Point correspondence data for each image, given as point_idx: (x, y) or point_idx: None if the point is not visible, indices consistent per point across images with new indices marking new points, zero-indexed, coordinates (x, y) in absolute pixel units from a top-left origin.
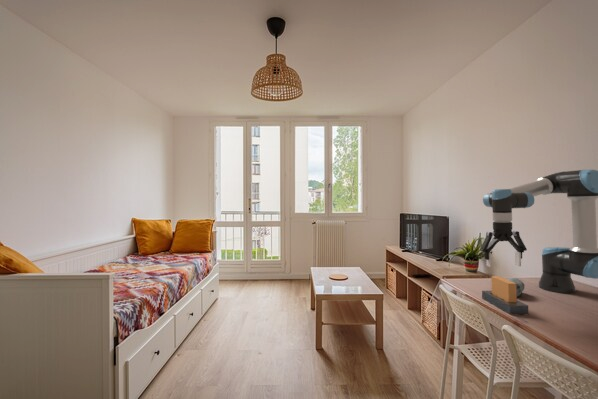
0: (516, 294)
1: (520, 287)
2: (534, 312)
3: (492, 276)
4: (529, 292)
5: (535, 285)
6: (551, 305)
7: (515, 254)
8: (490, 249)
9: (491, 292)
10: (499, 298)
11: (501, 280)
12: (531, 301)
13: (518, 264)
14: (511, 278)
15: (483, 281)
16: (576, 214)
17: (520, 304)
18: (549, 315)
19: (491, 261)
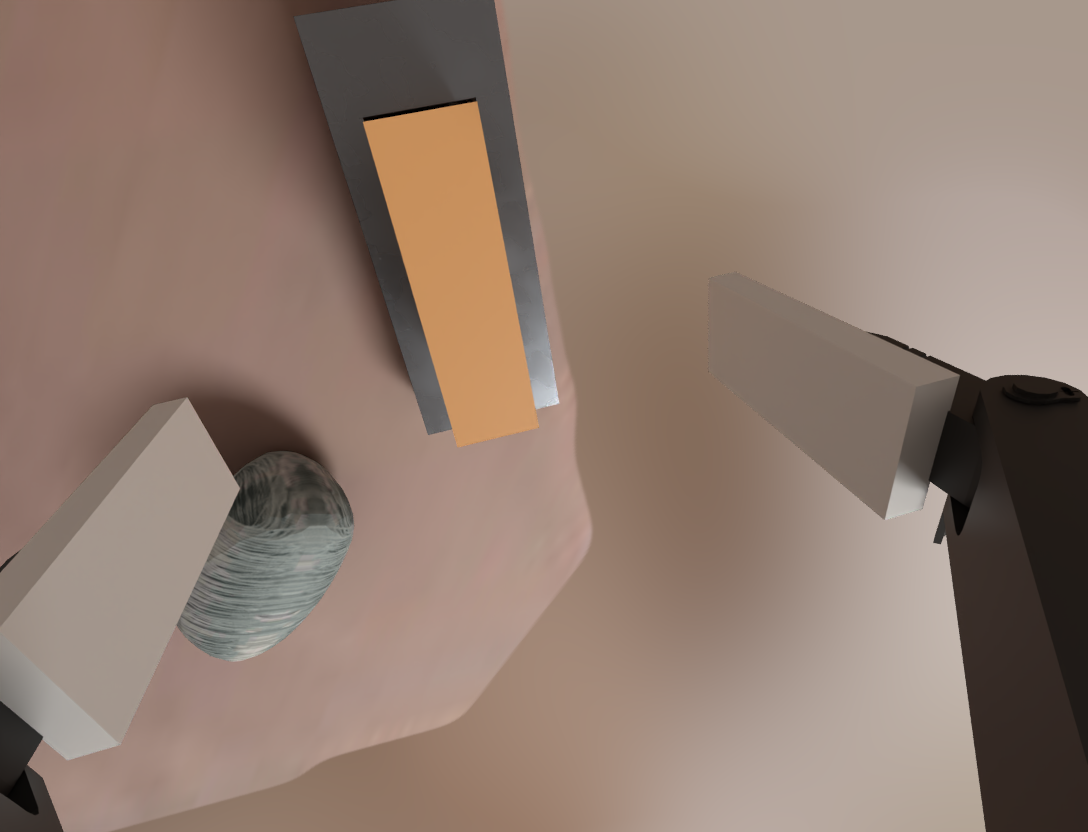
0: (276, 454)
1: None
2: (237, 103)
3: (530, 421)
4: None
5: None
6: (31, 325)
7: (149, 652)
8: (1047, 454)
9: None
10: (500, 215)
11: (503, 259)
12: (184, 390)
13: (189, 433)
14: (255, 630)
15: (400, 699)
16: None
17: (367, 40)
18: (112, 31)
19: (768, 308)
